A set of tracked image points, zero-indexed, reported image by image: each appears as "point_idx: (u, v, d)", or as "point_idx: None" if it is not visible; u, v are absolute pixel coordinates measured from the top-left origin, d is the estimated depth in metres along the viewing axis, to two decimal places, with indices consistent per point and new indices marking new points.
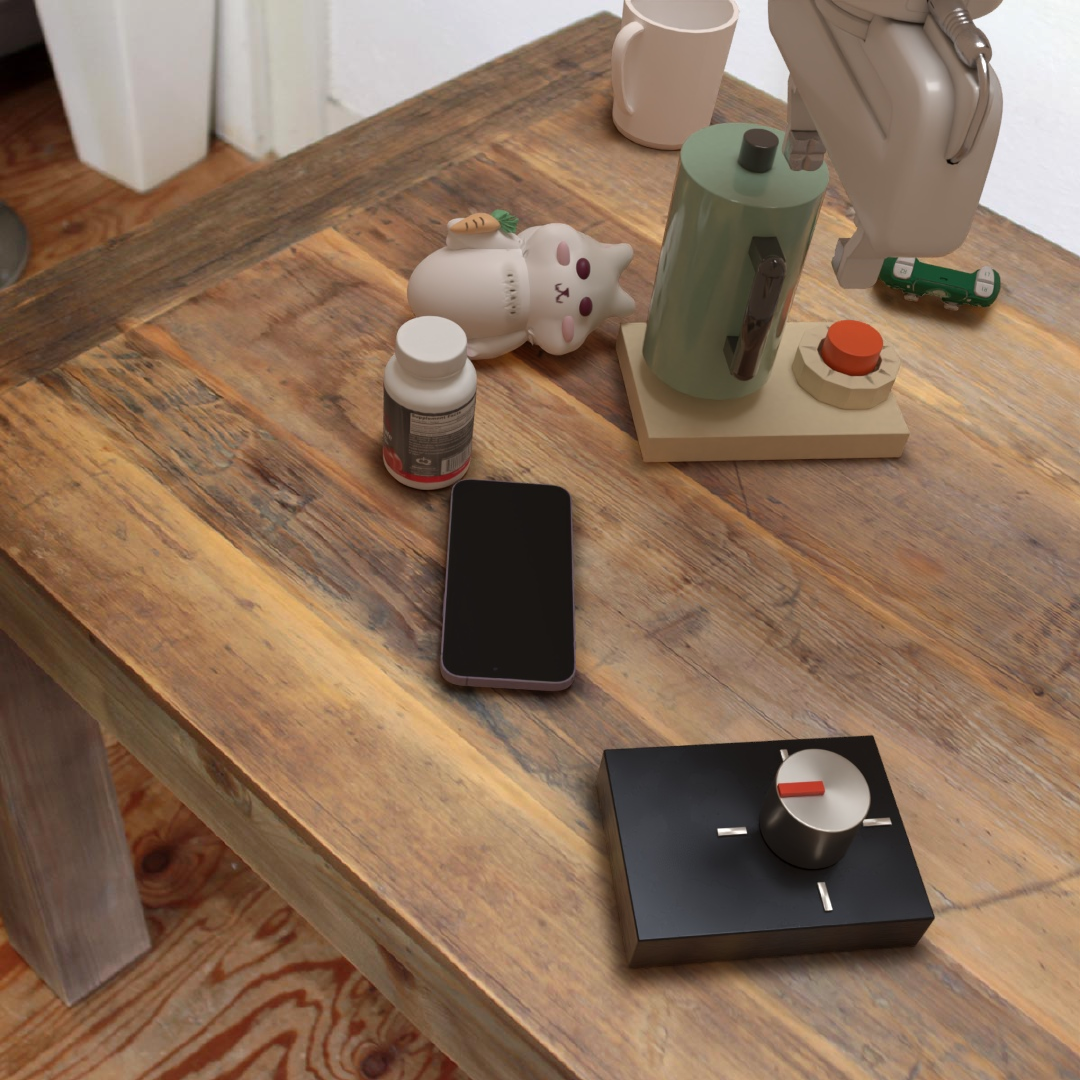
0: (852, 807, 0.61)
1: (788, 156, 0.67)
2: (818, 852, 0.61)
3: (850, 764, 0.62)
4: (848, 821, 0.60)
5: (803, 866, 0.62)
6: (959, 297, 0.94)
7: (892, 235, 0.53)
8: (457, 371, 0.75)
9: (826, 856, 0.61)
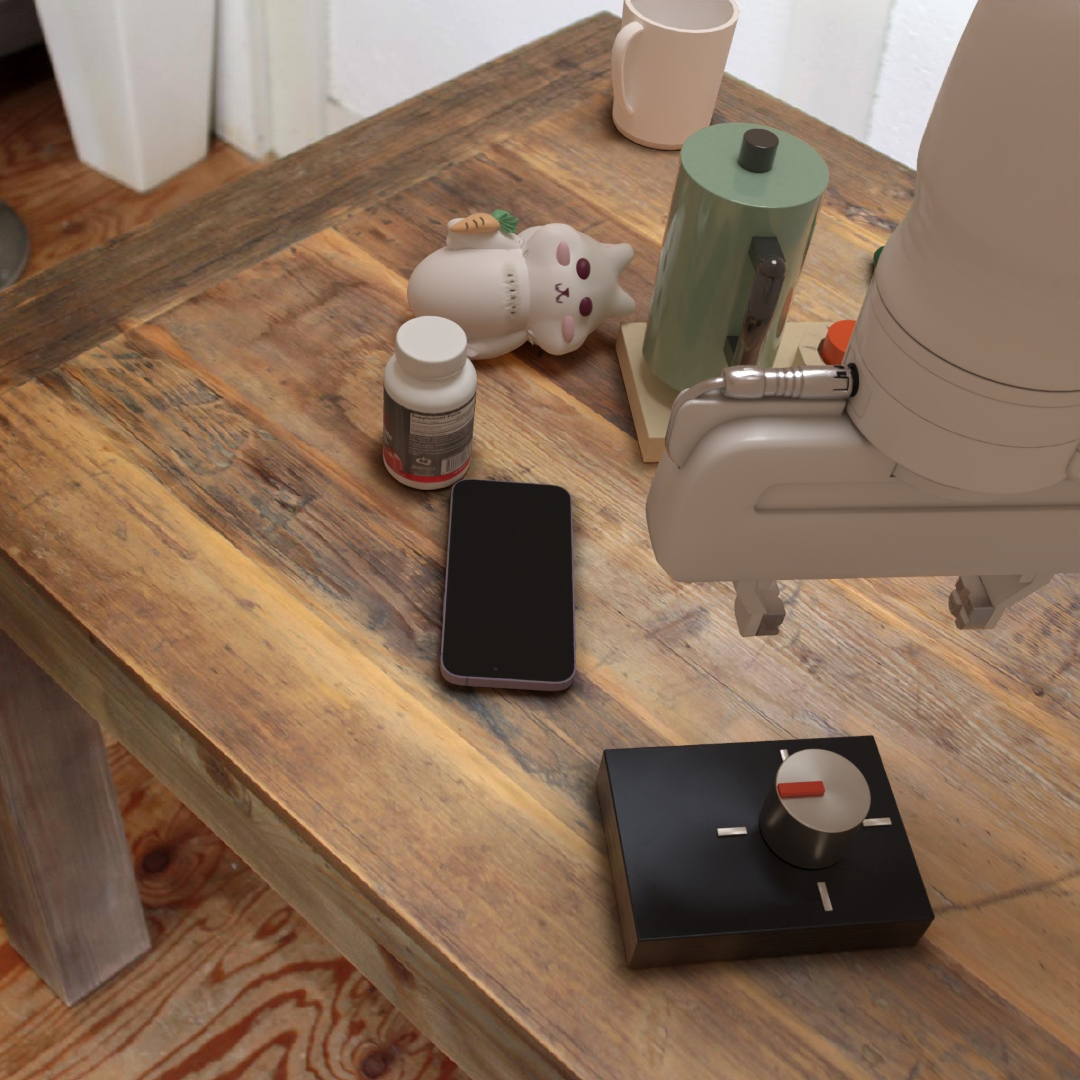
0: (852, 807, 0.61)
1: (957, 591, 0.56)
2: (818, 852, 0.61)
3: (850, 764, 0.62)
4: (848, 821, 0.60)
5: (803, 866, 0.62)
6: None
7: (648, 493, 0.51)
8: (457, 371, 0.75)
9: (826, 856, 0.61)
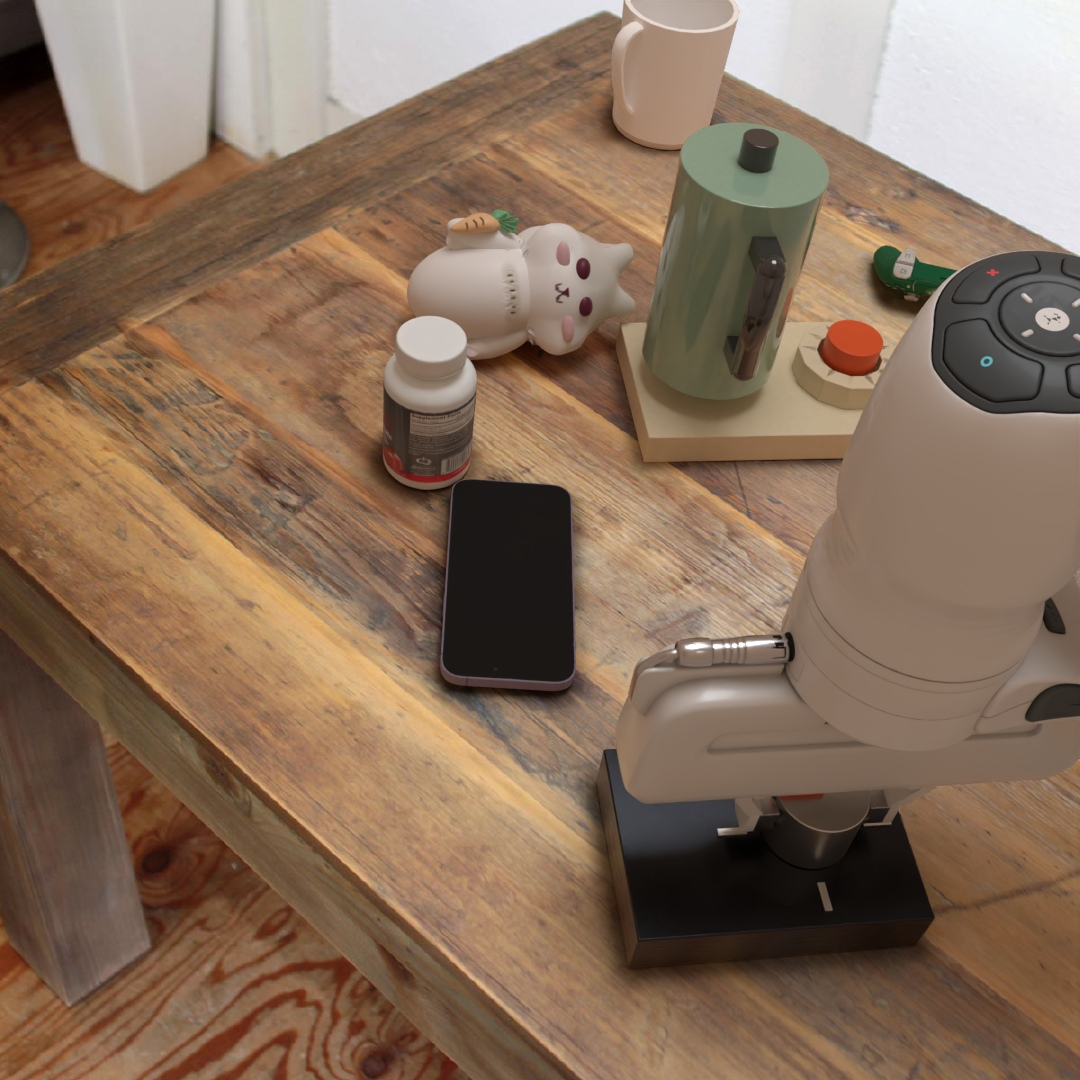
0: (852, 807, 0.61)
1: None
2: (818, 852, 0.61)
3: None
4: (848, 821, 0.60)
5: (803, 866, 0.62)
6: None
7: (617, 722, 0.58)
8: (457, 371, 0.75)
9: (826, 856, 0.61)
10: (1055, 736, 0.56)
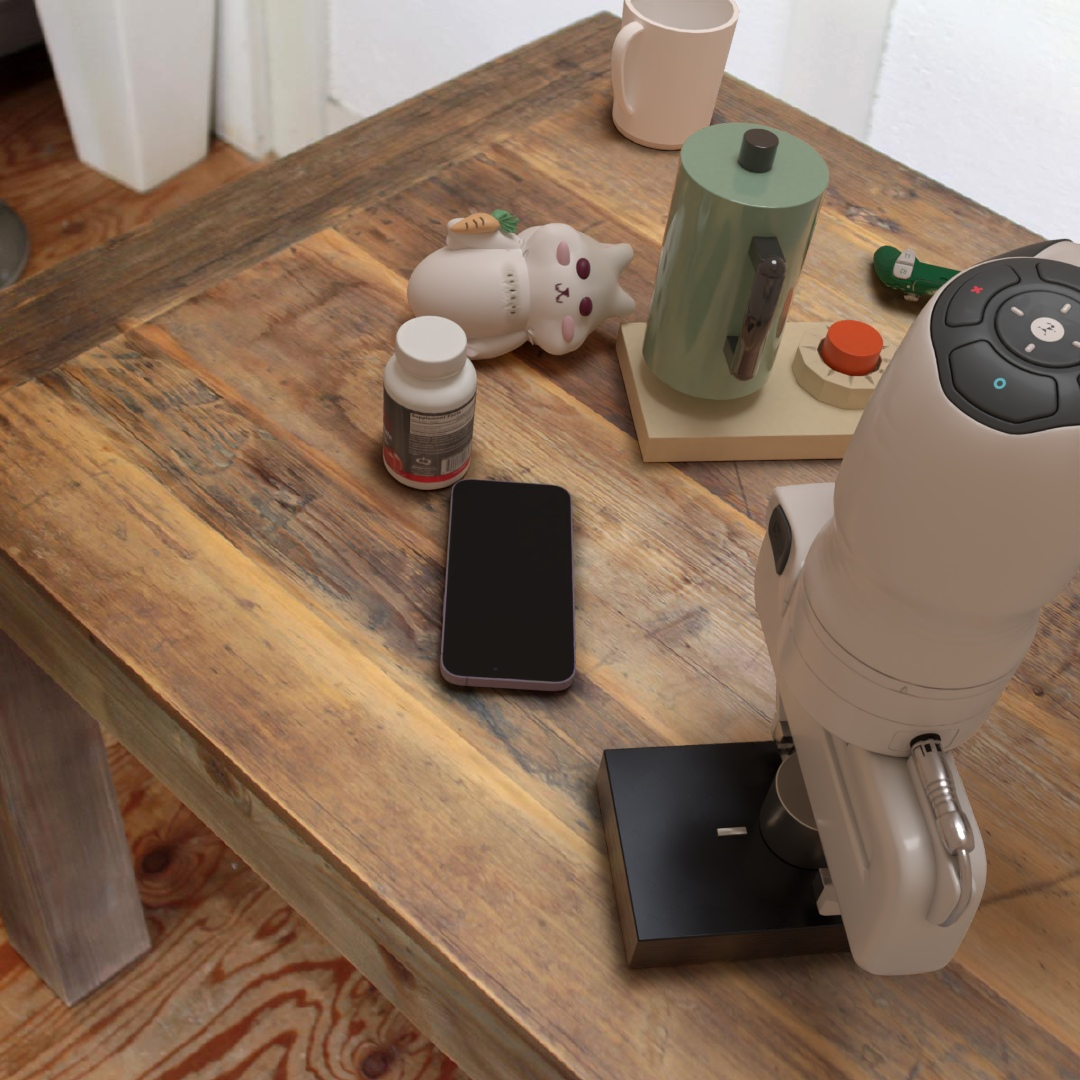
0: None
1: (776, 743, 0.65)
2: None
3: (789, 759, 0.62)
4: None
5: None
6: None
7: (873, 967, 0.52)
8: (457, 371, 0.75)
9: None
10: None
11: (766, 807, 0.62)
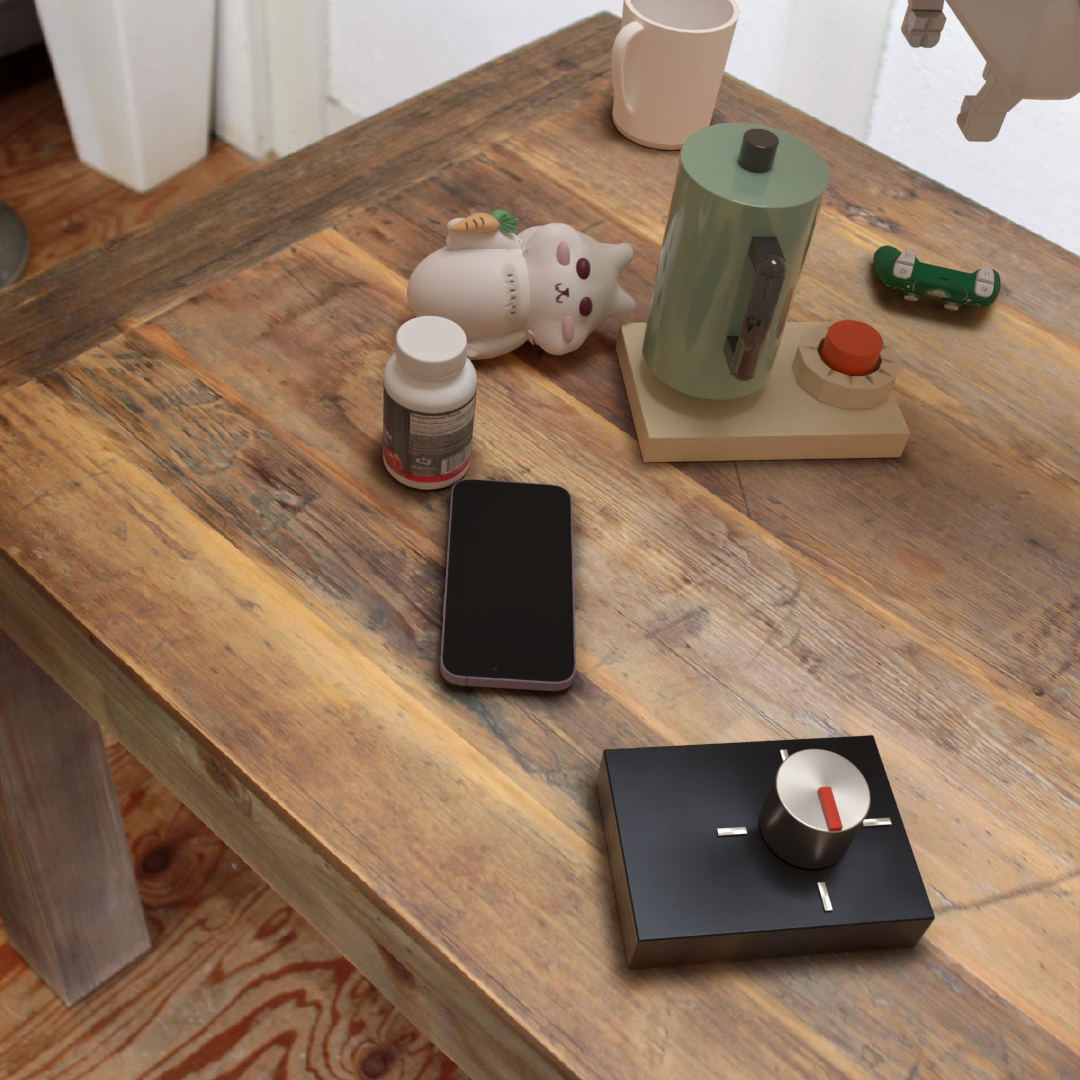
0: (838, 767, 0.62)
1: (908, 33, 0.74)
2: None
3: (789, 759, 0.62)
4: (854, 774, 0.62)
5: None
6: (959, 297, 0.94)
7: (1027, 75, 0.60)
8: (457, 371, 0.75)
9: None
10: None
11: (766, 807, 0.62)
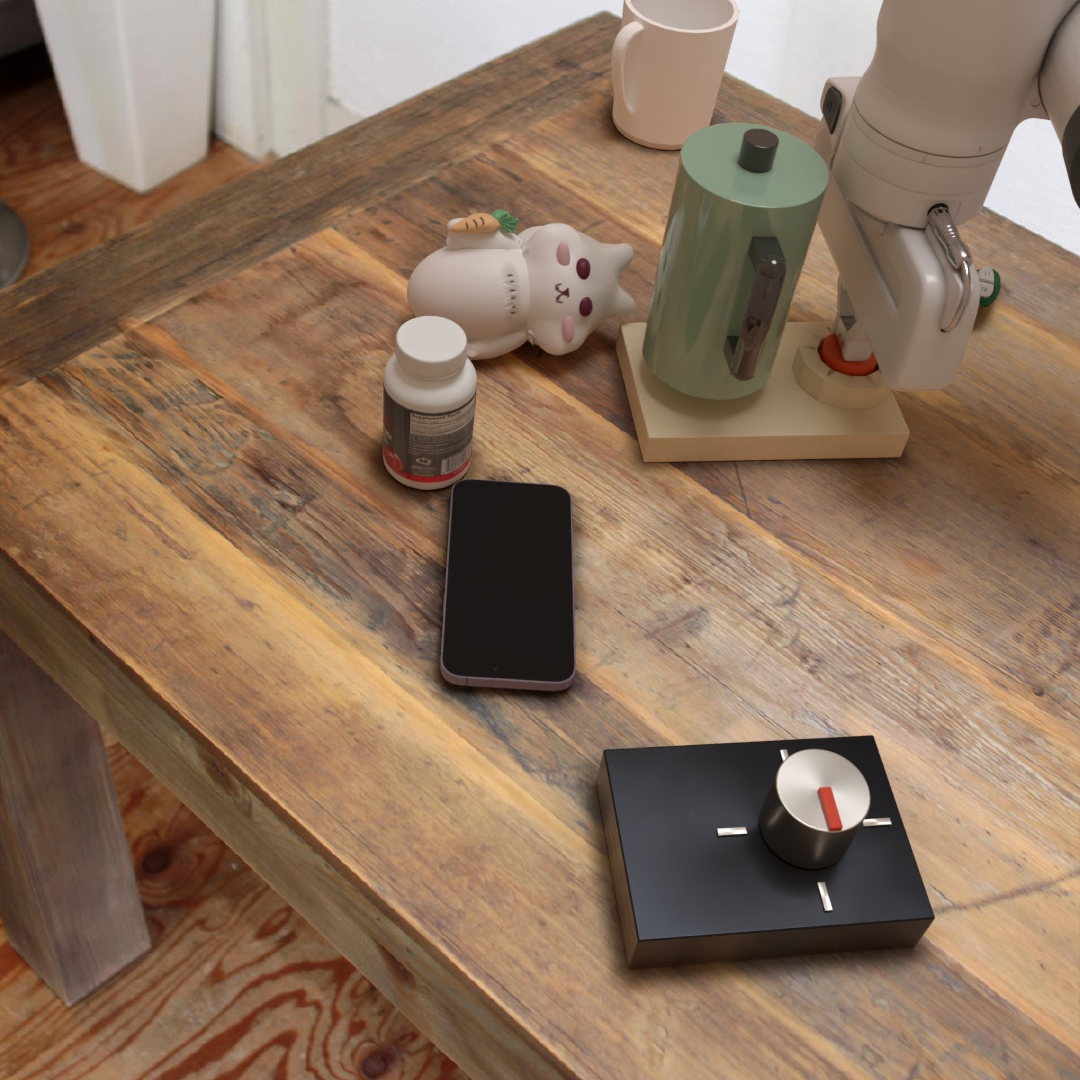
0: (838, 767, 0.62)
1: (837, 335, 0.85)
2: None
3: (789, 759, 0.62)
4: (854, 774, 0.62)
5: None
6: None
7: (901, 378, 0.74)
8: (457, 371, 0.75)
9: None
10: None
11: (766, 807, 0.62)
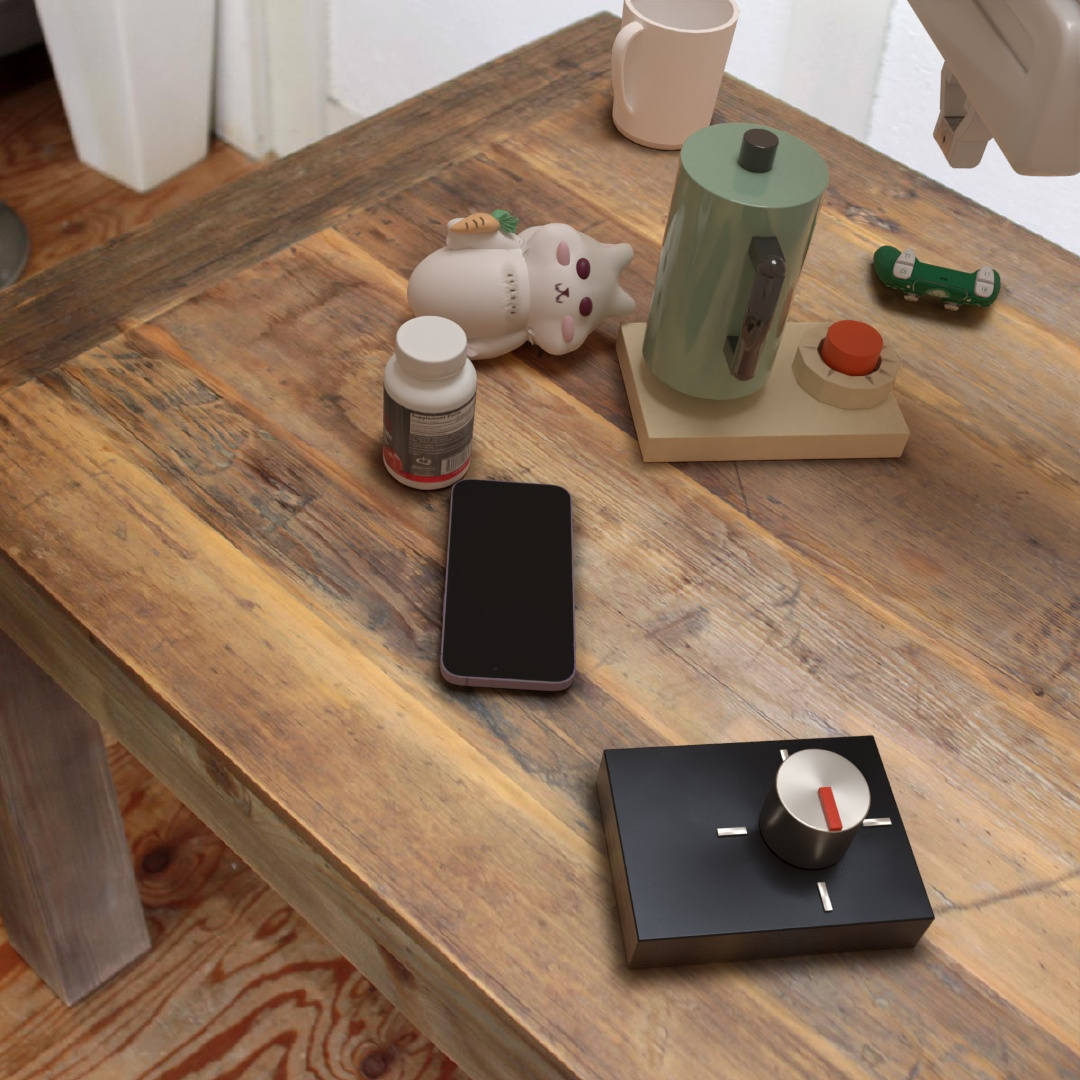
0: (838, 767, 0.62)
1: (941, 140, 0.73)
2: None
3: (789, 759, 0.62)
4: (854, 774, 0.62)
5: None
6: (959, 297, 0.94)
7: (1033, 155, 0.62)
8: (457, 371, 0.75)
9: None
10: None
11: (766, 807, 0.62)
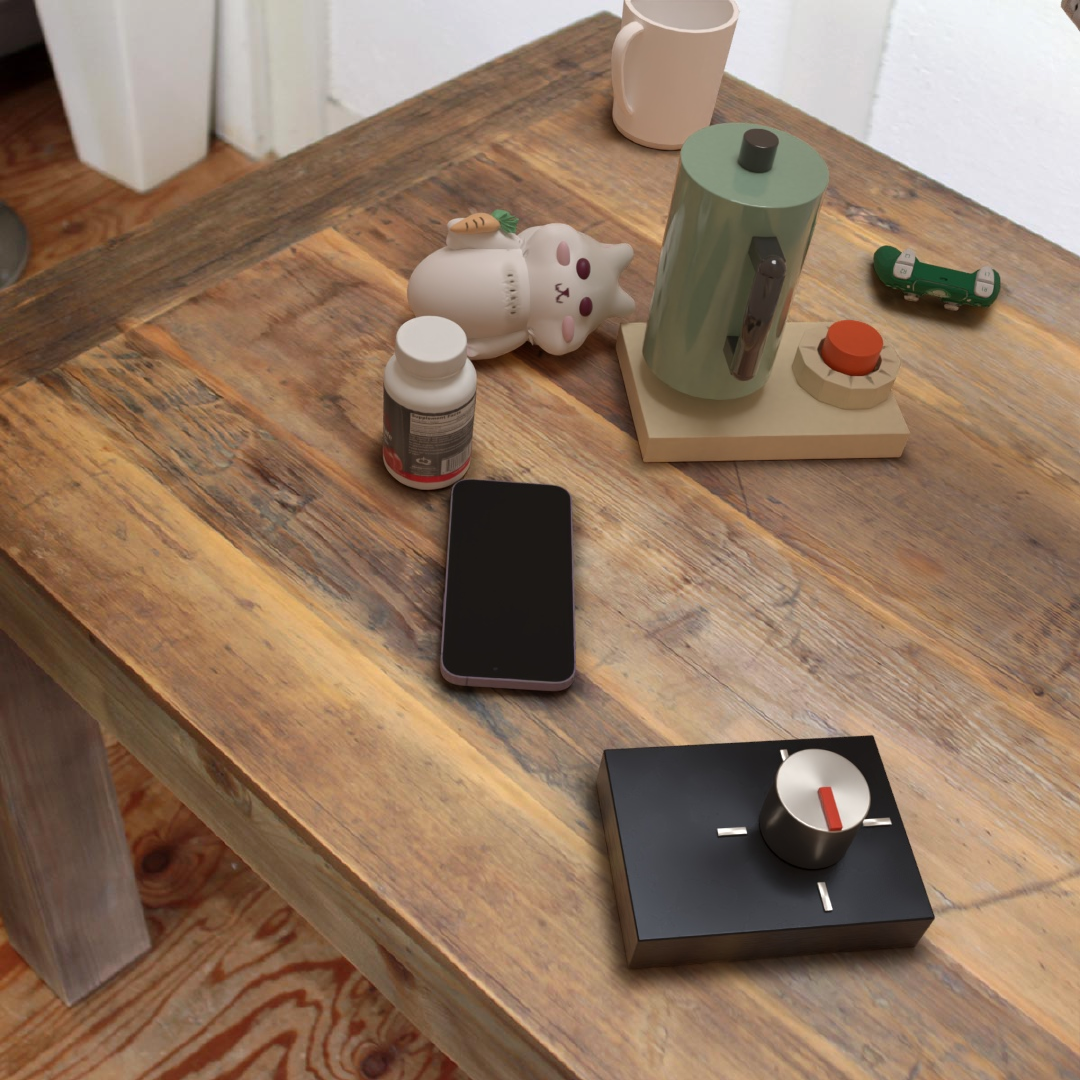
0: (838, 767, 0.62)
1: (1072, 9, 0.64)
2: None
3: (789, 759, 0.62)
4: (854, 774, 0.62)
5: None
6: (959, 297, 0.94)
7: None
8: (457, 371, 0.75)
9: None
10: None
11: (766, 807, 0.62)
